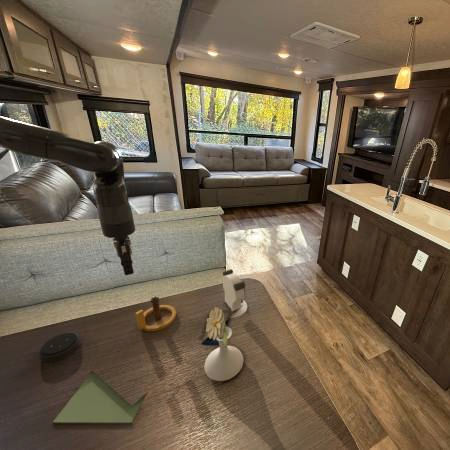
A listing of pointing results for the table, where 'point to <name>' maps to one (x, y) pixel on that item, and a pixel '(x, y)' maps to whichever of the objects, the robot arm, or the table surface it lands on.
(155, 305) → the stand
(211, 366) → the flower in vase
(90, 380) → the olive green flat piece
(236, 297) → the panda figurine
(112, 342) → the table surface
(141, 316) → the orange ring with tab
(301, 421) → the table surface
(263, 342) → the table surface
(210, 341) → the cell phone
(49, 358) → the smart speaker
